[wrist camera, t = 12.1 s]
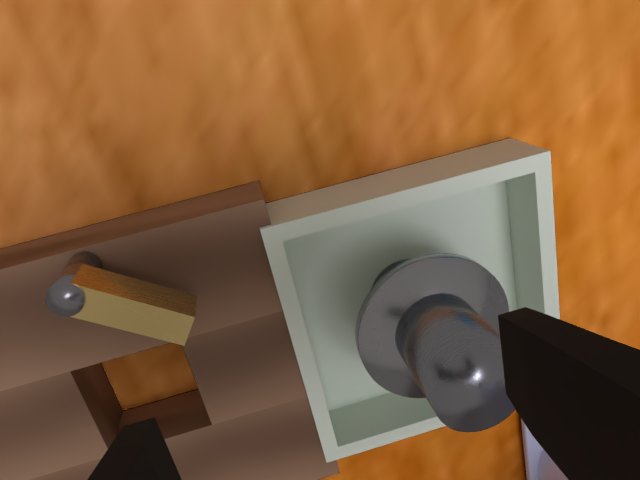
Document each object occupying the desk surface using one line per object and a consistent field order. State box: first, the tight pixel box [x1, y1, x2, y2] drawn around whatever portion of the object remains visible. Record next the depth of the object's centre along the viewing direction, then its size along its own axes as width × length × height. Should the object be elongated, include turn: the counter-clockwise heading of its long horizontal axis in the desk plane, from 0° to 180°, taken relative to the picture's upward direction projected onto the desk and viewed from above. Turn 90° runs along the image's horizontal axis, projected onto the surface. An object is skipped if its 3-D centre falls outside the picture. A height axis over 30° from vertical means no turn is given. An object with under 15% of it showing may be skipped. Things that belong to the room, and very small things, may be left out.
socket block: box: [0, 181, 340, 480], centre depth 20 cm, size 12×12×2 cm
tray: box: [260, 138, 560, 463], centre depth 21 cm, size 10×10×3 cm
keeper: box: [45, 252, 197, 346], centre depth 16 cm, size 4×1×2 cm, turn 67°
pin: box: [355, 253, 515, 432], centre depth 18 cm, size 6×6×6 cm
